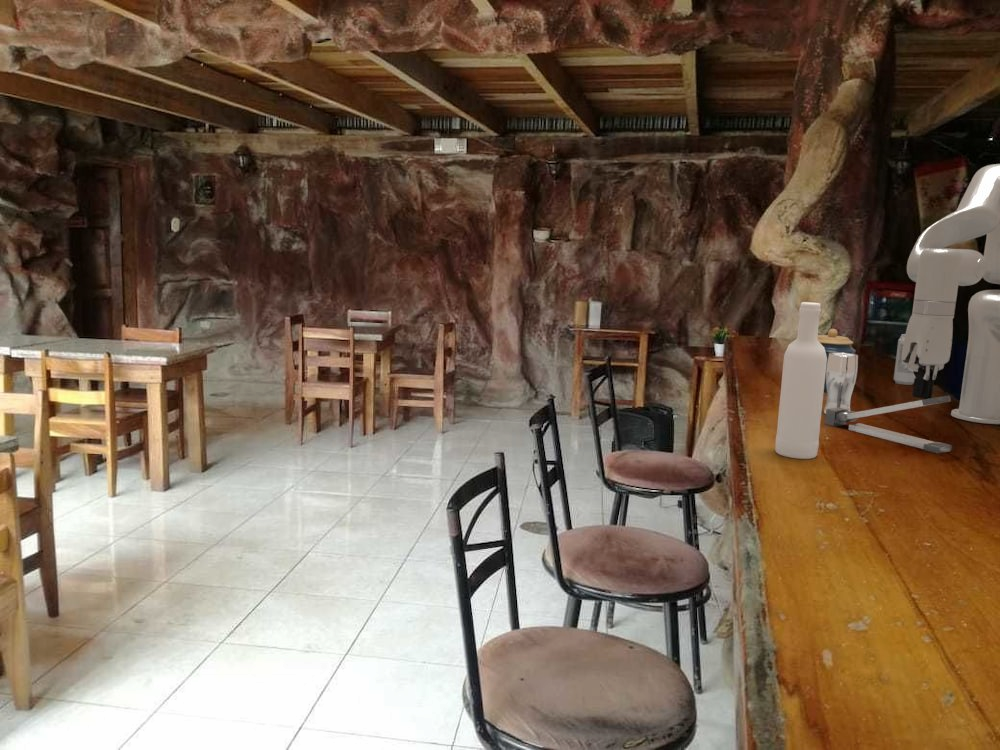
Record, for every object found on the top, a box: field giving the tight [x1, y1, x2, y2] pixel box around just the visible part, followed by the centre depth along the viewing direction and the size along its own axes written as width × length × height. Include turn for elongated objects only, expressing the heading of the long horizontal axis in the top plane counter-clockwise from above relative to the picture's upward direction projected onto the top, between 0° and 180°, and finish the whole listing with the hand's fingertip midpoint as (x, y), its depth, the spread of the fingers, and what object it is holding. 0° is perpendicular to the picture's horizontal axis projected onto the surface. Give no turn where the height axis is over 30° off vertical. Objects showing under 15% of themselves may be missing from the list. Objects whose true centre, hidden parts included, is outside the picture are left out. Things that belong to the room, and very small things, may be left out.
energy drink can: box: [893, 333, 915, 386], centre depth 235 cm, size 6×6×15 cm
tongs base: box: [824, 407, 953, 454], centre depth 168 cm, size 27×5×4 cm, turn 29°
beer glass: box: [823, 352, 859, 415], centre depth 188 cm, size 7×7×15 cm
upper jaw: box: [836, 395, 952, 423], centre depth 166 cm, size 24×5×2 cm, turn 29°
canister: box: [817, 328, 857, 393], centre depth 222 cm, size 13×13×18 cm
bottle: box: [775, 301, 827, 460], centre depth 150 cm, size 8×8×30 cm
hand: (921, 397), depth 160 cm, fingers closed
